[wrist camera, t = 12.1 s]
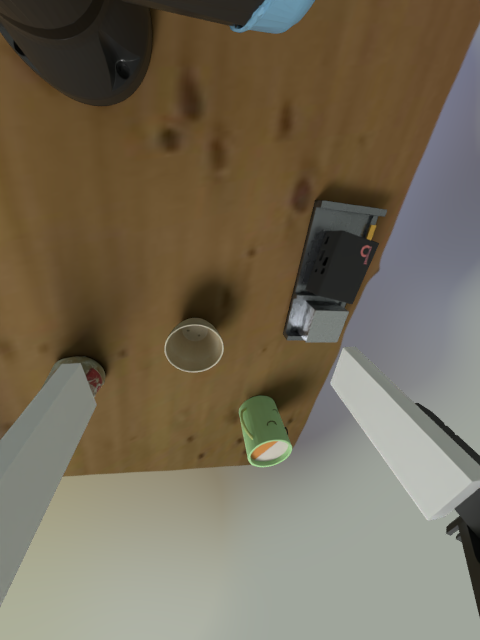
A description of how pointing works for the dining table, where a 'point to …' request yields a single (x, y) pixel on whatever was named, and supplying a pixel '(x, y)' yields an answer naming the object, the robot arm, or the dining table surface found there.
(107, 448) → the dining table surface
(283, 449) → the mug
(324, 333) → the dark gray tray
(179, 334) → the flower pot
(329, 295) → the electronic device
